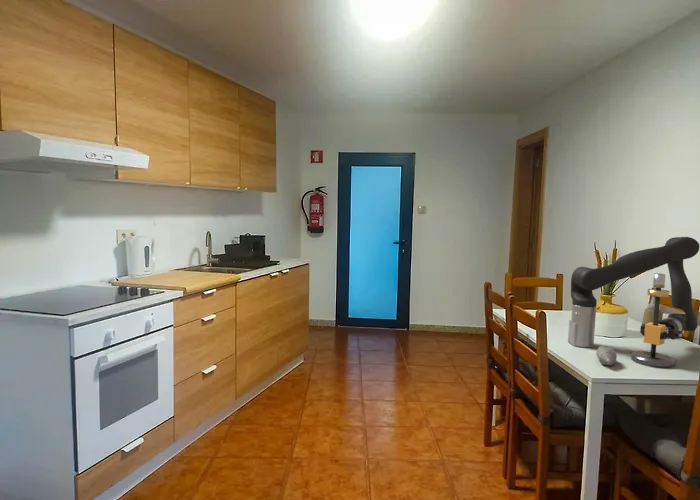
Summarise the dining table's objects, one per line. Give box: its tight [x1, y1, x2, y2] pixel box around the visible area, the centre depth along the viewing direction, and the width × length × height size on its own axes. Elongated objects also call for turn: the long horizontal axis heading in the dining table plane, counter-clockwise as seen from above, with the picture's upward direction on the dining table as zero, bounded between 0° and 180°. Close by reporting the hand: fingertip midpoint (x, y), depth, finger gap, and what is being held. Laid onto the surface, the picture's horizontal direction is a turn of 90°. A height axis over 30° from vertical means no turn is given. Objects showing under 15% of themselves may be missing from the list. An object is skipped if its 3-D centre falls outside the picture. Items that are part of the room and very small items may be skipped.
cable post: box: [630, 272, 676, 369], centre depth 175 cm, size 14×14×34 cm
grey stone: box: [595, 344, 618, 366], centre depth 174 cm, size 6×14×8 cm, turn 160°
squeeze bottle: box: [641, 296, 663, 325], centre depth 214 cm, size 8×8×18 cm
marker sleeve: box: [643, 322, 666, 346], centre depth 176 cm, size 5×5×7 cm
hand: (652, 334), depth 174 cm, fingers closed on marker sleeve, 5 cm apart
